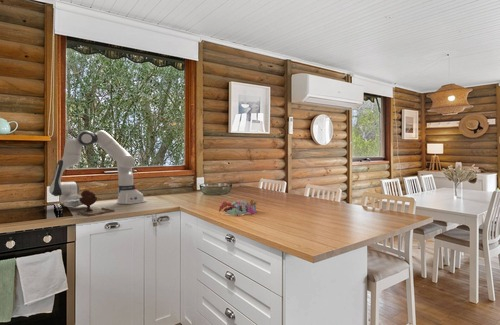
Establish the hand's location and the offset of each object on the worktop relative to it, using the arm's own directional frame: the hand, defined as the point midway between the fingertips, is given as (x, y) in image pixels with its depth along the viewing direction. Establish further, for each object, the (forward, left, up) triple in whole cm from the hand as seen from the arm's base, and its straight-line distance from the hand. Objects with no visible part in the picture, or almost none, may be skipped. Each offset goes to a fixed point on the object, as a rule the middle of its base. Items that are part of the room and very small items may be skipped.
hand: (85, 202), depth 214 cm
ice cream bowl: (-2, +4, -6) cm, 7 cm away
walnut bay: (-5, +11, -6) cm, 14 cm away
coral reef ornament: (-89, +64, -6) cm, 109 cm away
